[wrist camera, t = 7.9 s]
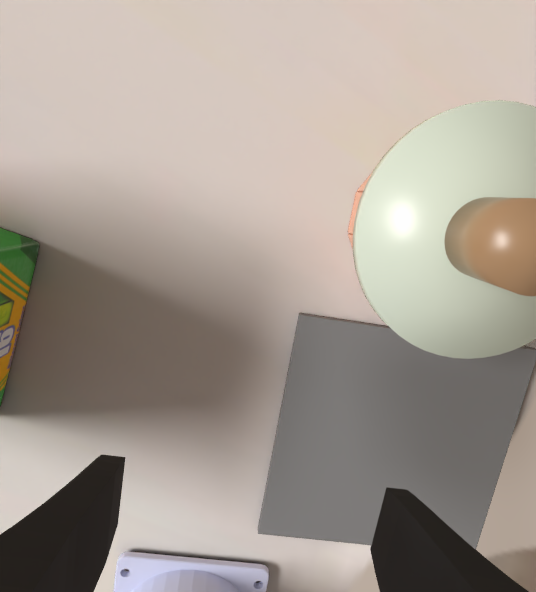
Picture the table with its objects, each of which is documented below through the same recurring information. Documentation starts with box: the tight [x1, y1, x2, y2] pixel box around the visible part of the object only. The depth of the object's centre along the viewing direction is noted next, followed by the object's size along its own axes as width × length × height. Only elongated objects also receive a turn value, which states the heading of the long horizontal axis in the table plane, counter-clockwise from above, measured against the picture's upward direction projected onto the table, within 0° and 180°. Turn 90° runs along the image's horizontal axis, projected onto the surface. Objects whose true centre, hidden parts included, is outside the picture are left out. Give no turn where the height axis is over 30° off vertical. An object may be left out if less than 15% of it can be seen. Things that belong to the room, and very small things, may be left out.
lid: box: [353, 100, 536, 359], centre depth 15 cm, size 9×9×4 cm
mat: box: [258, 313, 536, 550], centre depth 23 cm, size 12×12×1 cm
